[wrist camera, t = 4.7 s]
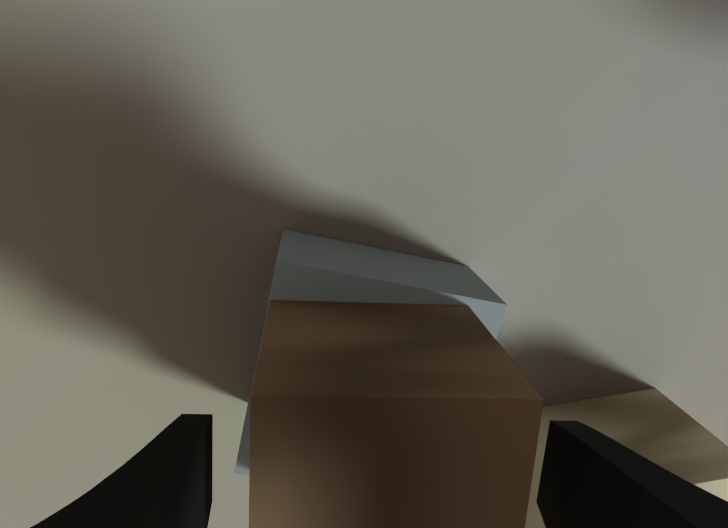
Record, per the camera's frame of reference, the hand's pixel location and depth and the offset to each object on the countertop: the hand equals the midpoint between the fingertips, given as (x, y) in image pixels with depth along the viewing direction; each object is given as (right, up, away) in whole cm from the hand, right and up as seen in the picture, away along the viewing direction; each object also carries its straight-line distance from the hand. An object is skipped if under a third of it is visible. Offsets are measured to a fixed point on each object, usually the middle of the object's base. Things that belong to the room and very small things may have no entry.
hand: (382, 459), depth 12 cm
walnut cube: (0, +1, +3) cm, 3 cm away
